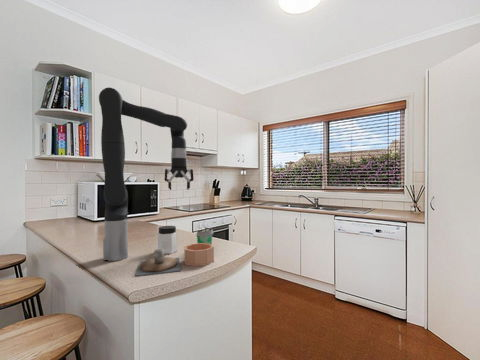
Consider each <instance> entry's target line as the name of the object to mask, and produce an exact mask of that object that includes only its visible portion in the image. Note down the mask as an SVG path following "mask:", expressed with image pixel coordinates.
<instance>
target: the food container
mask: <svg viewBox="0 0 480 360" xmlns="http://www.w3.org/2000/svg"><path fill="white" fill-rule="evenodd" d="M213 234H214V230H213V228H211V227H204V229H203V230H201V231H196V237H197V238H196V239H197V240H196V242H197V243H206V244H212V245H213V242H212V241H213ZM197 243H196V244H197Z"/></svg>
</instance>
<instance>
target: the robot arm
mask: <svg viewBox="0 0 480 360" xmlns="http://www.w3.org/2000/svg"><path fill="white" fill-rule="evenodd" d="M98 101H99V102H98V103H99V106H100V110H101V119H102V124H101V136H100V139H101V141H100V143H101V144H100V146H101V156H102V164H103V172H104V187H103V198H104V201H105V205H104V238H103V240H102V242H103V243H102V246H103V247H102V248H103V249H102V250H103V252H102V253H103V255H102V256H103V257H102V258H103V260H108V261H107V262H114V261H115V262H116V261H122V260H124V259H127V258H129V257H128V256H129V255H128V254H129V250H128V247H129V245H128V244H129V243H128V240H129V239H128V213H129V212H128V211H129V209H128V207H129V205H128V202H129V201H128V194H129V193H128V191H127V189H126V183H125V177H124V169H125V168H124V167H125V160H126V147H125V138H124V137H125V136H124V130H123V125H122V116H126V117H129V118H134V119H137V120H140V121H142V122H146V123H149V124H152V125H154V126H158V127H160V128H169V130H170V135H171V136H170V138H171V153H170V155H171V156H170V157H171V158H170V159H171V161H170V162H171V165H170V167H171V169H167V168H165V169H164V181H165V182H167V183H168V184H167V187H168V189H169V190H170V191H172V180H173V179H174V178H175V179H177V178H180V179H181V178H184V179H185V180H186V190H189V189H190V187H191V182H193V181H194V170H193V168H192V169H188V168H187V167H188V166H187V162H188V161H187V141H186V138H185V135H184V134H185V130H186V129H187V128H188V123H187V120H186V119H184V118H183V117H181V116H178V115H173V114H168V113H165V112H162V111H160V110H158V109H155V108H151V107H149V106H148V107H147V106H140V105H136V104H134V103H130V102H128V101H125V100H124V99H123V97H122V94H121V93H120V92H119V91H118V90H117V89H115V88H114V87H105V88H103V89H102V90H101V91H100V93H99V95H98ZM170 173H171V174H172V175H171V176H170V177H169V179H168V174H170ZM187 173H188V174H189V175H190V179H189V177H188V176H187Z"/></svg>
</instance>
